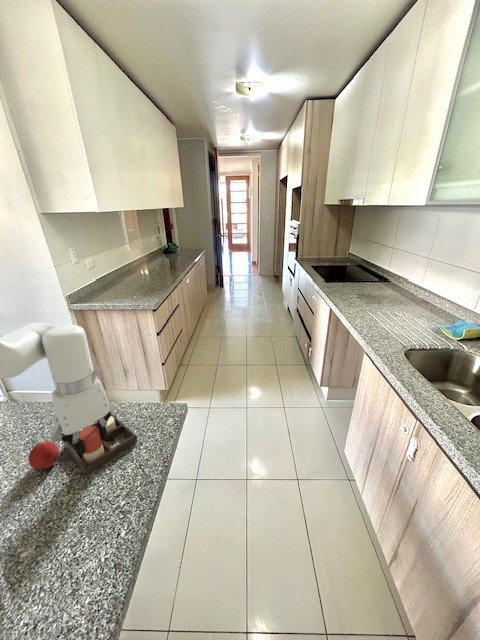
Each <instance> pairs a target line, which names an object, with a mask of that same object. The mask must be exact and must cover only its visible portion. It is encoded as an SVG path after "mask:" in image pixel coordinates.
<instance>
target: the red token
mask: <svg viewBox="0 0 480 640" xmlns="http://www.w3.org/2000/svg"><path fill="white" fill-rule="evenodd" d="M87 427H88V428H87ZM87 427H85V428H86V429H85V428H83V429H84V430H83V429H81V430H80V431H81V432H80V431H79V432H80V434H79V438H80V439H81V440H82V443H83V447H84V451H85V453H91V452H94V451H96V450H98V449H99V448H100V447H101V445H102V439H101V435H100V430H99V428H98V427H96V426H92V427H89V426H87Z"/></svg>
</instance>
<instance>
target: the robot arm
mask: <svg viewBox="0 0 480 640" xmlns="http://www.w3.org/2000/svg"><path fill="white" fill-rule="evenodd" d="M45 359H46V360H47V363H48V367H49V370H50V371H49V372H50V374H51V378H52V381H53V385H54V388H55V389H53V391H52V393H51V403H52V410H53V415H54V419H55V425H54V427H53V430H52V432H51V433H50V436H49V439H50V440H51V442H53V443H55V442H63V441H64V442H72V444H73V445H72V448H73V450H74V451H75V452H78V451H79V452H80V454H81V455H83V454H84V453H85V451H84V447H83V443H82V440H81V439H80V438H79V432H80V431H81V430H83V429H85V428H87V427H89V426H91V425H92V424H94V423H96V422H97V423H96V427H98V428H99V430H100V435H101V439H102V441H106V440H107V439H106V434H107V431H106V425H107V421H108V419H109V418H110V416H111V414H113V413H114V411H115V410H116V409H117V407H118V406H117V405H116V404H115V403H113V402H112V401H110V400H108V398H107V397H108V396H107V395H106V392H105V389H104V387H103V385H102V382H101V380H100V379H99V377H97V375H98V374H99V373H101V371H102V369H101V368H100V367H99V366H97V367H94V365H93V361H92V357H91V351H90V347H89V342H88V338H87V334H86V331H85V329H84V328H83V327H82V326H80V325H76V324H67V325H65V324H64V325H56V324H52V323H51V324H50V323H46V322H31V323H28V324H25V325H24V326H21V327H20V328H17V329H15V330H13V331H11V332H9V333H7V334H5V335H2V336H1V337H0V379H12V378H15V377H17V376H20V375H21V374H23V373H25V372H26V371H27V370H29V369H30V368H32V367H33V366H35V365H36V364H37V363H39V362H40V361H42V360H45Z"/></svg>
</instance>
